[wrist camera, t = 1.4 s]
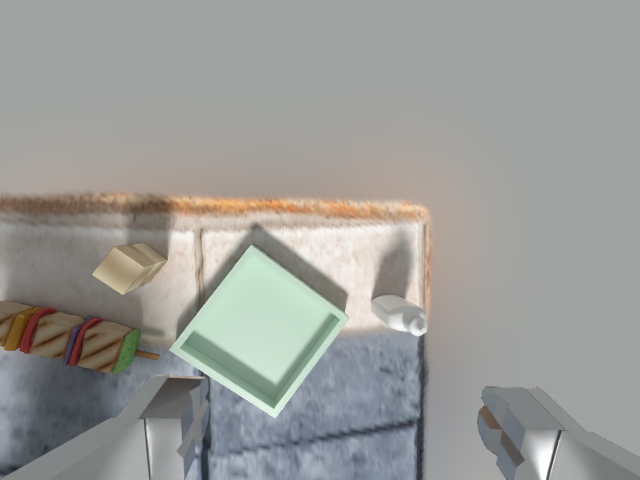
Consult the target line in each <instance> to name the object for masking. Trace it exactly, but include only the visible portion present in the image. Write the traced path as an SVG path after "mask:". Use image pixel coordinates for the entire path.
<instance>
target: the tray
mask: <svg viewBox="0 0 640 480" xmlns="http://www.w3.org/2000/svg"><path fill="white" fill-rule="evenodd" d="M348 320H349V317H348V315H347V314H346V313H345V312H344V311H343V310H341V309H340V308H338V307H337V306H336V305H334V304H333V303H332V302H330V301H329V300H328V299H326V298H325V297H324V296H322V295H321V294H320V293H318V292H317V291H316V290H314V289H313V288H312V287H310V286H309V285H307V284H306V283H305V282H303V281H302V280H301V279H299V278H298V277H297V276H295V275H294V274H293V273H291V272H290V271H289V270H287V269H286V268H285V267H283V266H282V265H281V264H279V263H278V262H276V261H275V260H274V259H272V258H271V257H270V256H268V255H267V254H266V253H264V252H263V251H262V250H260V249H259V248H258V247H256V246H255V245H254V244H251V245H250V246H249V248H248V249H247V250H246V252H245V253H244V254H243V255H242V257H241V258H240V259H239V261H238V262H237V263H236V264H235V266H234V267H233V268H232V270H231V271H230V272H229V273H228V275H227V276H226V277H225V279H224V280H223V281H222V282H221V284H220V285H219V286H218V288H217V289H216V290H215V291H214V293H213V294H212V295H211V296H210V298H209V299H208V300H207V302H206V303H205V304H204V305H203V307H202V308H201V309H200V311H199V312H198V313H197V314H196V316H195V317H194V318H193V320H192V321H191V322H190V323H189V325H188V326H187V327H186V329H185V330H184V331H183V332H182V334H181V335H180V336H179V338H178V339H177V340H176V341H175V343H174V344H173V345H172V347H171V348H170V349H169V351H171V352H172V353H174V354H176V355H177V356H179V357H180V358H182V359H183V360H185V361H187V362H188V363H190V364H191V365H193V366H194V367H196V368H197V369H199V370H201V371H202V372H204V373H205V374H207V375H208V376H210V377H212V378H213V379H215V380H216V381H218V382H219V383H221V384H222V385H224V386H226V387H227V388H229V389H230V390H232V391H233V392H235V393H237V394H238V395H240V396H241V397H243V398H244V399H246V400H247V401H249V402H251V403H252V404H254V405H255V406H257V407H258V408H260V409H261V410H263V411H265V412H266V413H268V414H269V415H271V416H272V417H274V418H276V416H277V415H278V414H279V412H280V411H281V410H282V408H283V407H284V406H285V404H286V403H287V402H288V400H289V399H290V398H291V396H292V395H293V394H294V392H295V391H296V390H297V388H298V387H299V386H300V384H301V383H302V381H303V380H304V379H305V377H306V376H307V375H308V373H309V372H310V371H311V369H312V368H313V367H314V365H315V364H316V363H317V361H318V360H319V359H320V357H321V356H322V355H323V353H324V352H325V351H326V349H327V348H328V346H329V345H330V344H331V342H332V341H333V340H334V338H335V337H336V336H337V334H338V333H339V332H340V330H341V329H342V328H343V326H344V325H345V324H346V322H347V321H348Z"/></svg>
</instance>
